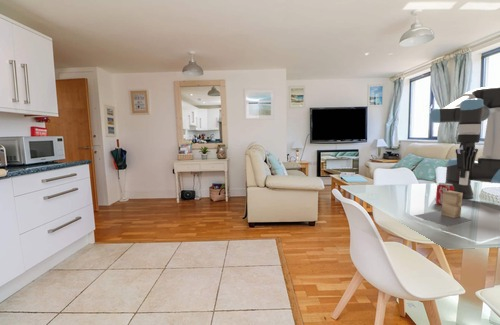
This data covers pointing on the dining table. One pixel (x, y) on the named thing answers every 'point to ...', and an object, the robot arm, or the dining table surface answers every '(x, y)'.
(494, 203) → the dining table surface
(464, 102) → the robot arm
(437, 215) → the mat
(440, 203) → the soda can
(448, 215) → the oak block
